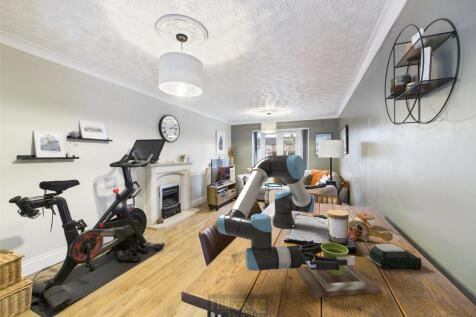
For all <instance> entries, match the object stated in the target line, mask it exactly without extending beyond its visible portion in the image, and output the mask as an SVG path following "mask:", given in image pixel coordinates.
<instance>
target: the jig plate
mask: <svg viewBox="0 0 476 317" xmlns="http://www.w3.org/2000/svg"><path fill="white" fill-rule="evenodd" d="M295 271H296V273H297V274H298V276H299V277H300V279H301V281H302V282H303V284H304V285H305V286H307V287H306V288H307V289H309V290H308V291H309V293H310V294H311V296H312V297H313V299H314V298H315V299H316V298H324V297H325V298H327V297H341V296H351V295H352V296H353V295H354V296H355V295H365V294H380V293H383V290H382V289H381V288H380V287H379V286H378V285H377V284H375V283H374V282H373V281H371V279H369V278H368V277H367V276H366V275H365V274H363V273H362V272H361V271H359V270H358V269H357V268H356V267H355V265H345V267H344V273H343V274H340V275H334V274H331V273H330V272H328V271H327V270H324V269H315V270H311V269H310V266H309V265H308V266H304V267H303V266H302V267H300V268H296V269H295Z"/></svg>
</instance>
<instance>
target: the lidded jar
mask: <svg viewBox="0 0 476 317" xmlns="http://www.w3.org/2000/svg"><path fill="white" fill-rule="evenodd" d="M356 214H359V215H361V216H362V217H363V218H366V219H367V222H369V223H370V224H371V225H372V226H373V227H374V225H375V216H374V215H373V214H369V213H366V212H363V213H361V212H360V213H358V212H357V213H355V214H354V216H355V217H354V218H355V219H354V220H358V221H360V218H359V217H358V216H357V215H356ZM366 225H367V224H366ZM367 226H368V225H367ZM368 227H369V226H368ZM369 228H370V229H372V227H369Z"/></svg>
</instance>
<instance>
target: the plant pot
mask: <svg viewBox="0 0 476 317" xmlns="http://www.w3.org/2000/svg"><path fill="white" fill-rule="evenodd" d="M321 249H322V253H323V257H329V258H336V257H345V256H347V255H348V253H349V249H348V248H347V246H344V245H342V244H339V243H337V242H324V243H322V244H321ZM344 267H345V265H342V266H340V270H327V271H328V272H330V273H331V274H334V275H340V274H343V273H344Z"/></svg>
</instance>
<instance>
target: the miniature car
mask: <svg viewBox="0 0 476 317" xmlns="http://www.w3.org/2000/svg"><path fill="white" fill-rule="evenodd" d="M367 257H368V258H369V259H370V260H371V261H372V262H374V263H375V264H376V265H378V266H379V267H381V268H382V269H383V270H384V271H390V270H391V267H393V268H412V269H413V270H414V271H420V270H421V269H422V266H423V263H422V258H421V257H418V256H416V255H415V254H413V253H411V252H409V251H408V250H406V249H404V248H402V247H400V246H399V245H395V244H393V243H379V244H374V246H373V247H372V249H370V250H369V252H368V255H367Z"/></svg>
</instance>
